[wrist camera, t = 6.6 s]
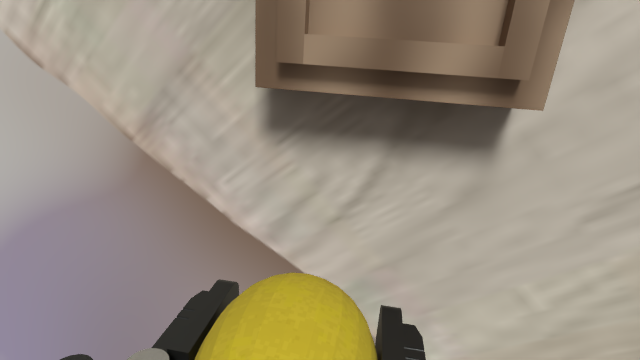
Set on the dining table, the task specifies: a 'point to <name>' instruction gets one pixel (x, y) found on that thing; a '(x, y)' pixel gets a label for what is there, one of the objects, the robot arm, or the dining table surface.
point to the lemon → (290, 323)
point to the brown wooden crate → (413, 48)
